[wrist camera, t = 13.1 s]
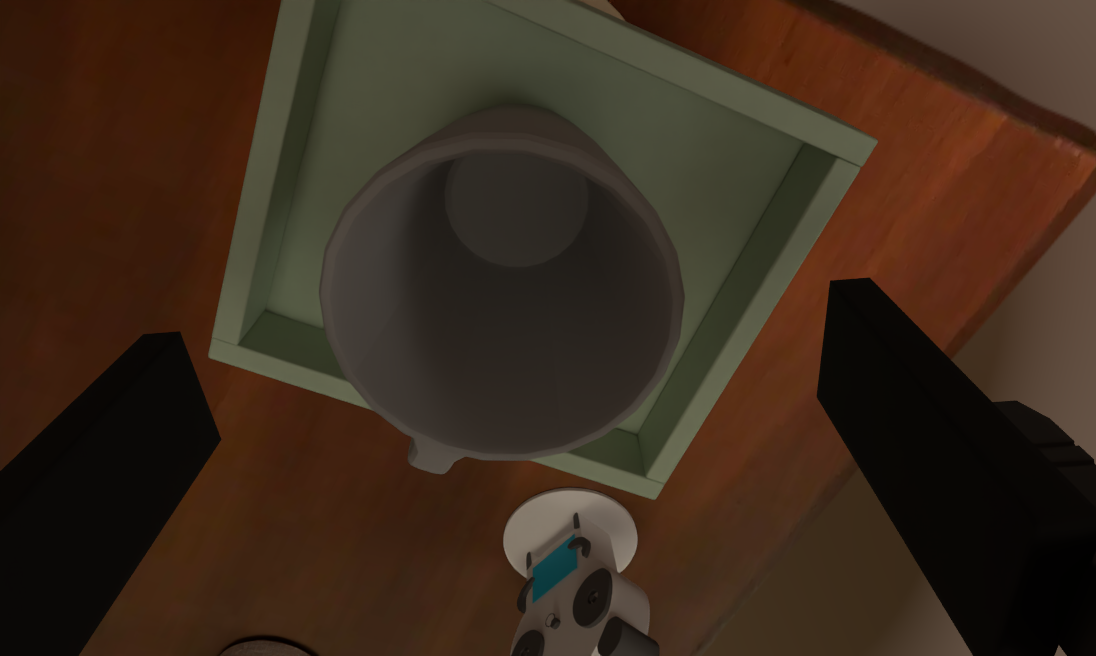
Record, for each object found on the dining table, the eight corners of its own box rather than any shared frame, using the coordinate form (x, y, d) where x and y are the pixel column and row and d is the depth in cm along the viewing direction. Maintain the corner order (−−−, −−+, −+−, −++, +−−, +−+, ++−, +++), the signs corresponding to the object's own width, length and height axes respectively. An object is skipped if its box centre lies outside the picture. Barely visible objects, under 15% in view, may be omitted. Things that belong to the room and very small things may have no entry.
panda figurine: (571, 459, 56) (579, 617, 42) (670, 530, 59) (706, 696, 46) (476, 543, 60) (456, 710, 47) (573, 605, 63) (581, 776, 50)
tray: (377, 158, 44) (205, 363, 22) (446, -79, 38) (306, -129, 16) (601, 244, 47) (652, 505, 25) (699, 37, 41) (884, 133, 19)
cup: (681, 130, 21) (757, 228, 14) (549, 387, 25) (551, 569, 18) (442, 21, 20) (378, 63, 12) (345, 313, 24) (254, 477, 16)
